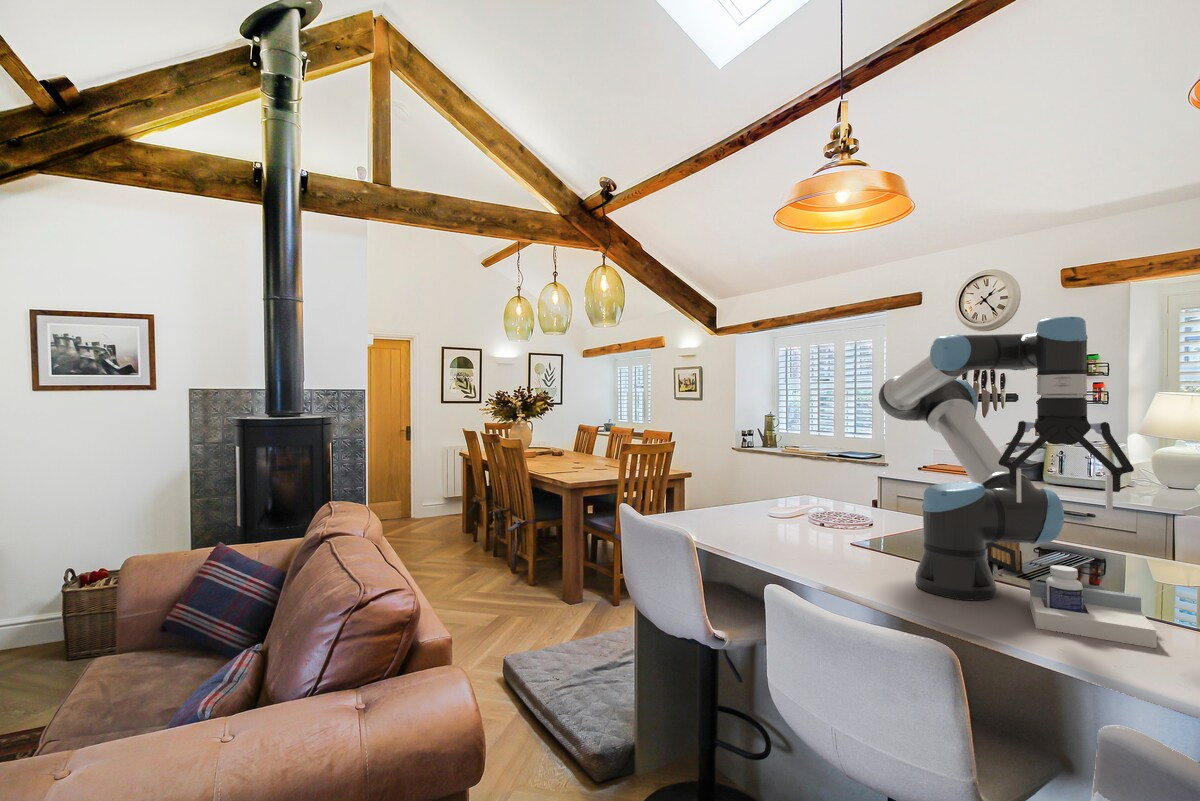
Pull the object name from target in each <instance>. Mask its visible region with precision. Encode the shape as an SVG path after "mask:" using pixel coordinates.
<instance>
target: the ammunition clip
mask: <svg viewBox="0 0 1200 801" xmlns="http://www.w3.org/2000/svg"><path fill="white" fill-rule="evenodd" d="M1020 544H1021V543H986V545H987V546H986V547H987V548H986V549H987V550H986V554H987V555H986V560H987V561H988V562H992V563H994V564H996V565H998V566H1001V567H1003V568H1005V569H1008V570H1009V571H1012V572H1016V573H1017V572H1019V573H1020V572H1021V573H1022V572H1023V557H1022V555H1023V554H1022V550H1020V549H1021V548H1020V546H1021V545H1020Z"/></svg>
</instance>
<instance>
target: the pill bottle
mask: <svg viewBox="0 0 1200 801" xmlns="http://www.w3.org/2000/svg"><path fill="white" fill-rule="evenodd" d="M1078 571H1079V570H1078V569H1077V568H1075V567H1072V566H1066V565H1058V564H1056V565H1054V564H1053V565H1050V568H1049V572H1050V574H1051V576H1048V577H1047V578H1046V579H1045V583H1046V608H1052V609H1059V610H1066V611H1072V612H1079V613H1083V588H1084V587H1083V584H1082V582H1080V580H1077V579H1078V578H1079V577H1078V576H1079V573H1078Z"/></svg>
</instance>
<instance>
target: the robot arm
mask: <svg viewBox="0 0 1200 801" xmlns="http://www.w3.org/2000/svg"><path fill="white" fill-rule="evenodd" d="M1086 328H1087V324H1086V320H1085V319H1084V318H1083V317H1080V316H1057V317H1049V318H1044V319H1040V320H1038V322H1037V323H1036V329H1035V332H1029V333H1011V334H1010V333H1008V334H1006V333H1003V334H1001V333H1000V334H951V335H943V336H942V335H941V336H939V337H937V338H936V339H934V340H933V343H932V345H931V346H930V352H929V355H928V356H927V357H925V358H924V359H923V360H921V361H919V362H918V363H917V364H915V365H914V366H913V367H912V368H910V369H909V370H907V371H906V372H904V373H903V374H901V375H895V376H893V377H891V378H889V379H888V380H886V381H885V382H884V383H883V384H882V385H881V387H880V389H879V391H878V392H879V393H878V403H879V404H880V407H881V409H882V410H883V411H884V412H885V413H886V414H888V416H891V417H892V418H895V419H896V420H897V419H898V420H901V421H920V422H921V421H923V422H926V423H927V425H928V427H929V428H930V429H931V430H933V431H934V432H935V433H939V434H940V435H941V436H942V437H943V439H944V440H945V442H946V444H947V445H948V446H949V448H950V450H951V451H952V453H953V454H954V456H955V457H956V460H958V462H959V463H960V465H961V467H962V468H963V470H964V471H965V473H966V475H967V477H968V478H969V479H970V481H961V482H959V481H952V482H951V481H950V482H949V481H948V482H941V483H937V484H933V485H930V486H927V487H926V489H925V490H924V491H923V499H922V506H921V508H922V515H923V516H922V518H923V520H922V523H923V553H922V555H921V558H920V561H919V564H918V566H917V570H916V572H915V586H916V587H917V588H919V589H921V590H923V591H925V592H927V593H931V594H933V595H937V596H941V597H946V598H951V599H956V600H957V599H958V600H967V601H985V600H991V599H993V598H995V597H996V596H997V585H996V582H995V580H994V579H995V578H994V576H993V574H992V570H991V568H990V565H989V563H988V560H987V555H986V554H987V551H986V544H987V543H1020V544H1031V545H1035V544H1043V543H1045V544H1046V543H1051V542H1053V541H1055V540H1057V538H1058V537H1059V536H1060V534H1061V532H1062V530H1063V527H1064V522H1065V511H1064V506H1063V503H1062V501H1061V499H1060V497H1059V496H1058V494H1057V493H1056V492H1055V491H1053V490H1051V489H1047V488H1040V489H1038V488H1037V487H1036V486H1035V485H1034V484H1033V482H1032V481H1031V480H1030V479H1029V477H1028V476H1026V475H1025V474H1023V473H1022V468H1019V466H1020V465H1021V464H1022V463H1024V462H1025V461H1026V460H1027V459H1028V458H1029V457H1031V456H1032V455H1034V453H1035V452H1037V450H1038V449H1039V448H1041V447H1042V446H1044V444H1045V443H1048V444H1051V445H1062V444H1064V445H1067V446H1072V445H1077V443H1079V444H1080V445H1081V446H1082V447H1083V448H1084V449H1085V450H1086V451H1087V452H1088V453H1090V454H1091V455H1092V456H1093V457H1094V458H1095V459H1096V460H1097V461H1098V462H1100V464H1102V465H1103V466H1104V467H1105V468H1106V469H1107V470H1108V471H1109V472H1110V473H1105V477H1104V478H1105V483H1104V484H1105V487H1104V489H1105V509H1106V510H1107V511H1114V509H1113V508H1114V505H1113V500H1114V498H1113V495H1114V494H1113V493H1120V491H1121V476H1122V475H1123V474H1129V473H1133V472H1134V470H1135V468H1134V466H1133V465H1132V464H1131V462H1130V460H1129V459H1128V457H1127V456H1126V454H1125V453H1124V451H1123V450H1122V449H1121V447H1120V445H1119V444H1118V443H1117V441H1116V440H1115V438H1114V436H1113V435H1112V434H1111V433H1112V432H1111V427H1110V426H1111V425H1110V424H1109V423H1108V422H1106V421H1101V422H1095V423H1094V422H1093V423H1091V422H1090V423H1089V421H1088V399H1086V398H1087V397H1084V396H1085V395H1087V394H1088V383H1087V378H1088V377H1087V376H1088V375H1087V369H1088V368H1087V366H1088V363H1087V361H1088V358H1087V357H1088V356H1087V355H1088V354H1087V353H1088V335H1087V329H1086ZM1033 369H1036V370H1037V371H1036V391H1037V393H1036V394H1037V395H1038V396H1040V397H1039V398H1038V399H1036V400H1037V401H1036V403H1037V405H1036V406H1037V410H1036V412H1037V419H1036V421H1035V422H1030V421H1024V420H1020V421H1018V422H1017V424H1018V425H1017V431H1016V433H1015V434H1014V435H1013V437H1012V439H1011V440H1010V442H1009V444H1008V446H1007V448H1005V450H1004V452H1003V453H1001V452H1000V450H999V449H998V447H997V446H996V445H995V444H994V442H993V441H992V439H991V438H990V437H989V435H988V434H987V433H986V431H985V430H984V429H983V427H982V426H981V425H980V423H979V422H978V421H977V419H976V418H975V415H976V412H977V409H978V398H977V397H976V391H975V390H974V389H975V388H974V387H973V386H972V385H971V384H970V383H968V381H965V380H963V379H960V378H959V377H961V376H962V375H964V374H966V373H968V372H969V371H986V370H987V371H988V370H989V371H991V370H996V371H997V370H1011V371H1027V370H1033ZM958 378H959V379H958ZM1032 429H1035V430H1036V432H1037V433H1038V434H1039V435H1040V436H1038V437H1037V438H1036V439H1035V440H1034V441H1033V442H1032V443H1031V444H1030V445H1028V447H1027V448H1025V449H1024V450H1023V451H1022V452H1021V453H1020V454H1019V455H1018V456H1017V457H1015V459H1013V460H1012V461H1009V460H1010V458H1011V456H1012V454H1013V453H1014V451H1015V450H1016V448H1017V446H1018V445H1019V443H1020V442H1021V440H1022V438H1023V437H1024V435H1025V433H1029V432H1030V430H1032ZM1091 430H1094V431H1095V433H1096V434H1098V435H1101V437H1102V438H1103V441H1104V442H1105V443H1106V445H1107V446H1108V447H1109V450H1110V451H1111V452H1112V454H1113V455H1114V457H1115V458H1116V459H1117V461H1118V462H1119V465H1120V466H1119V465H1118V466H1116V465H1115V464H1114V463H1113V462H1112V461H1111V460H1109V459H1108V458H1107V457H1106V456H1105V455H1104V454H1103V453H1102V452H1101V451H1100V450H1099V449H1098V448H1096V447H1095V446H1094V445H1093V444H1092V443H1091V442H1090V441H1089V440H1088V439H1087V438H1086V437H1085V436H1086V434H1088V433H1089V432H1090V431H1091Z"/></svg>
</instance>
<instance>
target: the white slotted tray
mask: <svg viewBox="0 0 1200 801" xmlns="http://www.w3.org/2000/svg"><path fill="white" fill-rule="evenodd" d="M1029 605H1030V606H1029V608H1030V611H1031V615H1032V619H1033V622H1034V626H1035V628H1036V629H1039V630H1046V631H1052V632H1056V631H1057V632H1058V633H1062V632H1063V633H1064V634H1068V633H1069V634H1071V635H1074V634H1075V635H1076V636H1080V635H1081V637H1087V638H1094V639H1099V640H1105V641H1110V642H1111V641H1112V642H1115V643H1116V642H1118V643H1122V644H1123V643H1124V644H1128V645H1135V646H1140V647H1147V648H1152V649H1157V630H1156V628H1155V627H1154V625H1153V624H1152V623H1151V622H1150V620H1149V619H1148V618H1147V617H1146V616H1145V614H1144V613H1143V612H1142V598H1141V597H1140V595H1139V594H1134V593H1127V592H1120V591H1113V590H1105V589H1104V590H1103V589H1097V588H1096V589H1095V588H1090V587H1089V588H1088V587H1083V613H1079V612H1072V611H1066V610H1059V609H1052V608H1046V582H1044V581H1036V580H1029ZM1063 633H1062V634H1063Z"/></svg>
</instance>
